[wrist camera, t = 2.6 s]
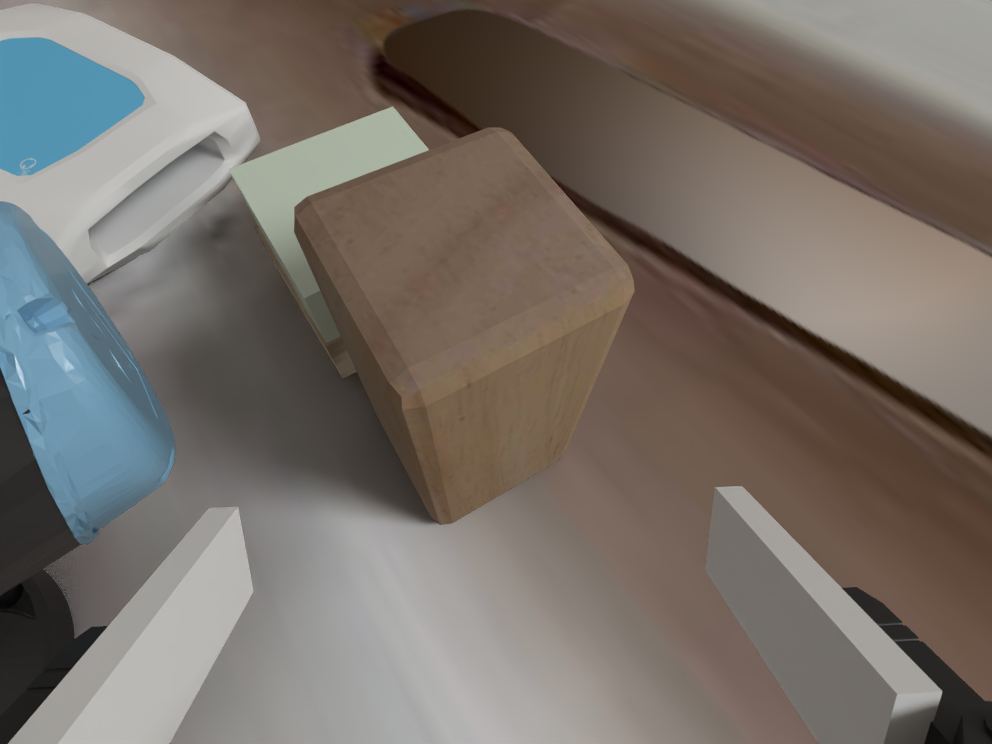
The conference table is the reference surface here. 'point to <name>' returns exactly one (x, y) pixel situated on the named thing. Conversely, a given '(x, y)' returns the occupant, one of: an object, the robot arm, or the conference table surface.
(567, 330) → the block
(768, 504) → the conference table surface
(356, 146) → the tower upper slab
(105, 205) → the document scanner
